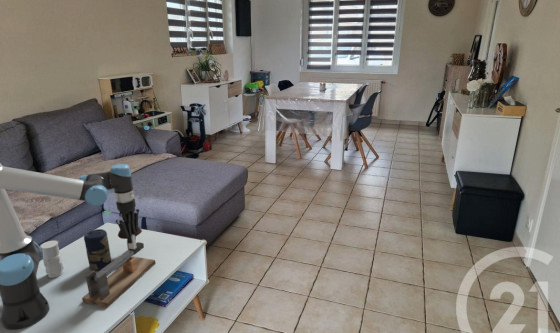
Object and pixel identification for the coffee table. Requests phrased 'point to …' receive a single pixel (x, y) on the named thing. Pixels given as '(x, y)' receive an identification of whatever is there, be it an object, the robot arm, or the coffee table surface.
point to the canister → (97, 249)
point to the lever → (118, 261)
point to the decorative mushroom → (126, 237)
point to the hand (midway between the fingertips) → (132, 248)
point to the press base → (115, 281)
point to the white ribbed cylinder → (52, 259)
